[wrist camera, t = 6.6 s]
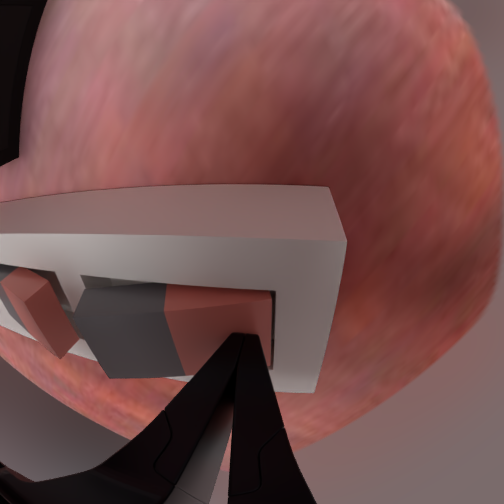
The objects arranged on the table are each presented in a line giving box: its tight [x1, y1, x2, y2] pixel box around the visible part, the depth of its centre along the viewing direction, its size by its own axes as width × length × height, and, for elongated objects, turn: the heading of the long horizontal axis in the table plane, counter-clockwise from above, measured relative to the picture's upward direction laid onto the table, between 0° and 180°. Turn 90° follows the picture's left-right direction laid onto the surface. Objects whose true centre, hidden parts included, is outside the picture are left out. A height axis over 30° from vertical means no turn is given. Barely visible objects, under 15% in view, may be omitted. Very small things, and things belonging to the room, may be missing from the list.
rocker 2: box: [72, 282, 272, 378], centre depth 9 cm, size 6×3×1 cm, turn 92°
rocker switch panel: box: [0, 184, 347, 393], centre depth 12 cm, size 29×7×4 cm, turn 92°
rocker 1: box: [0, 264, 79, 359], centre depth 10 cm, size 6×3×1 cm, turn 92°
